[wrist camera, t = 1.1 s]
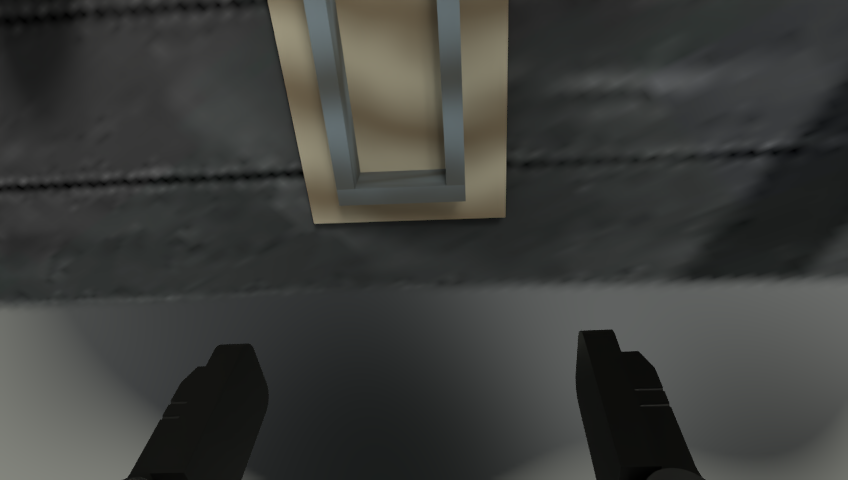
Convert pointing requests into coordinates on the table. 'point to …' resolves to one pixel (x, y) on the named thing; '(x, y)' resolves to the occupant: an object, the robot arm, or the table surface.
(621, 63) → the table surface
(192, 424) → the robot arm
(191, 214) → the table surface
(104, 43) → the table surface
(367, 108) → the keyhole guide
